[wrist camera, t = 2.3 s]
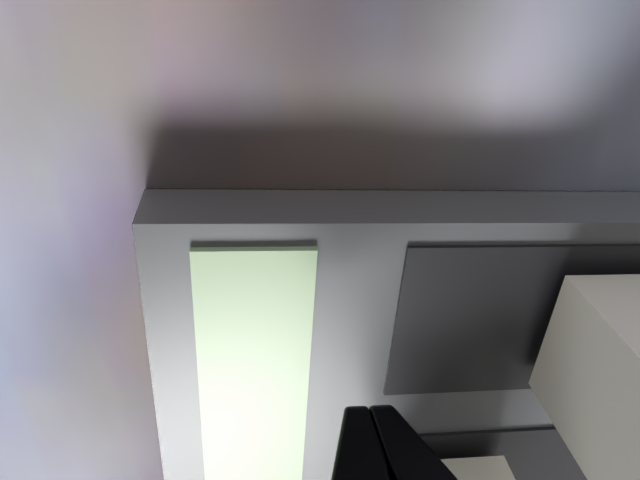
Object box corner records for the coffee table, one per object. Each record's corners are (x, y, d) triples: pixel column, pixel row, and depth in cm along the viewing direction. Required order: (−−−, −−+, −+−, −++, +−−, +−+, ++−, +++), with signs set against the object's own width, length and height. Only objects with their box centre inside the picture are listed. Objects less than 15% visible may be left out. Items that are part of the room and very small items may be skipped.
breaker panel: (963, 193, 14) (1045, 224, 12) (703, 557, 22) (735, 602, 20) (145, 189, 11) (130, 228, 10) (189, 605, 19) (185, 660, 18)
